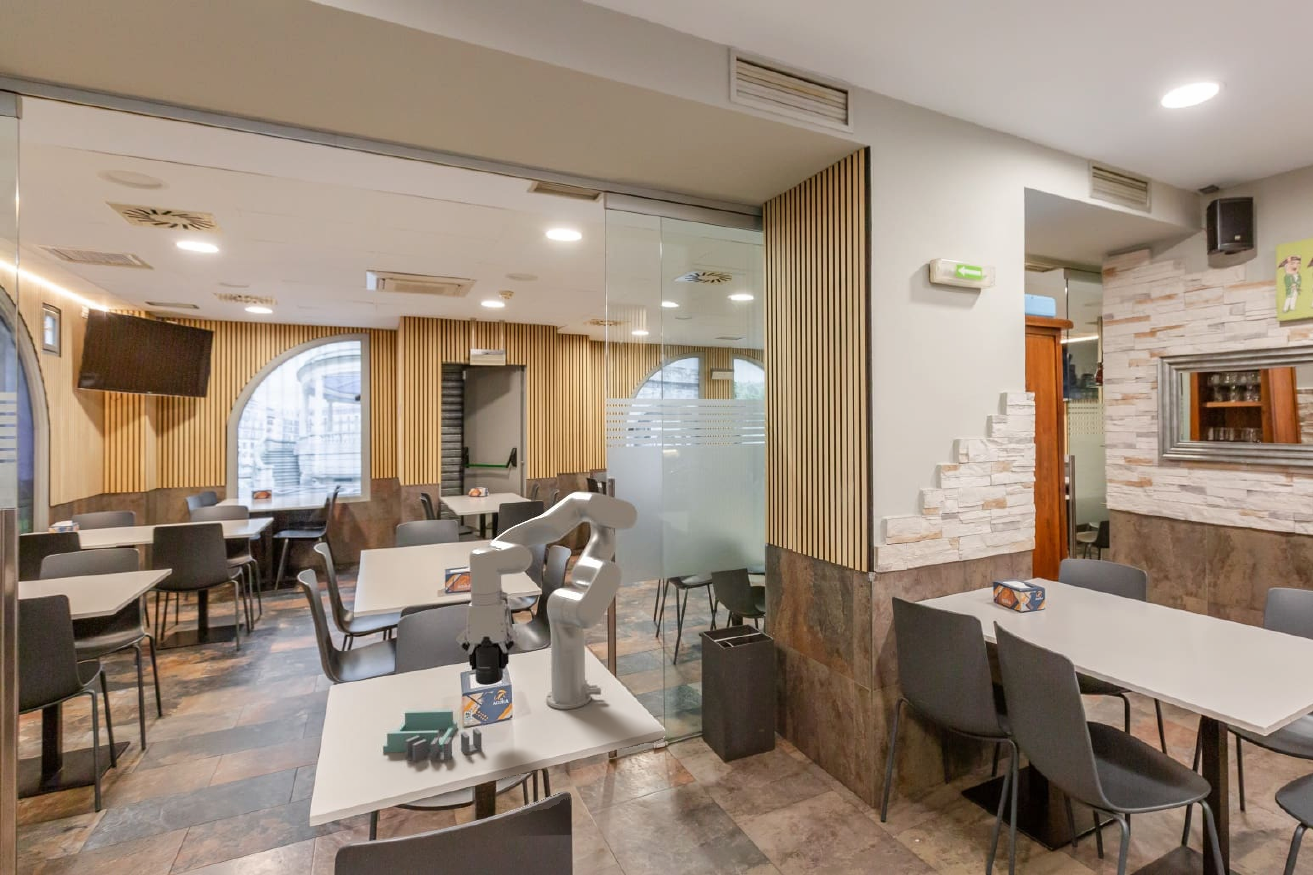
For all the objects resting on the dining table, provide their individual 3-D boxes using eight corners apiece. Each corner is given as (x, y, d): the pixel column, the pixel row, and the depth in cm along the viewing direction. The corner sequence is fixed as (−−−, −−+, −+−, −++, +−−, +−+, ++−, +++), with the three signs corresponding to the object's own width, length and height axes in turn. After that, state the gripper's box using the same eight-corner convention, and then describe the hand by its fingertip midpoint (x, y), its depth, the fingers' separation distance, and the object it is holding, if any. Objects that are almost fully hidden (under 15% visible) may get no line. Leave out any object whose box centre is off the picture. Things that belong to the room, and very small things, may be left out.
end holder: (457, 727, 160) (456, 709, 160) (442, 751, 148) (441, 732, 148) (402, 728, 160) (402, 711, 160) (383, 752, 148) (382, 733, 148)
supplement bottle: (478, 688, 152) (476, 639, 152) (473, 678, 158) (471, 631, 158) (506, 681, 155) (504, 634, 155) (500, 672, 161) (498, 626, 161)
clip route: (484, 745, 150) (484, 727, 150) (475, 762, 143) (475, 743, 143) (414, 746, 150) (413, 729, 150) (401, 763, 142) (401, 745, 142)
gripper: (523, 592, 160) (526, 660, 160) (456, 594, 160) (459, 663, 160) (518, 600, 152) (520, 672, 153) (447, 603, 152) (450, 675, 153)
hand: (489, 666), depth 157 cm, fingers closed on supplement bottle, 6 cm apart
